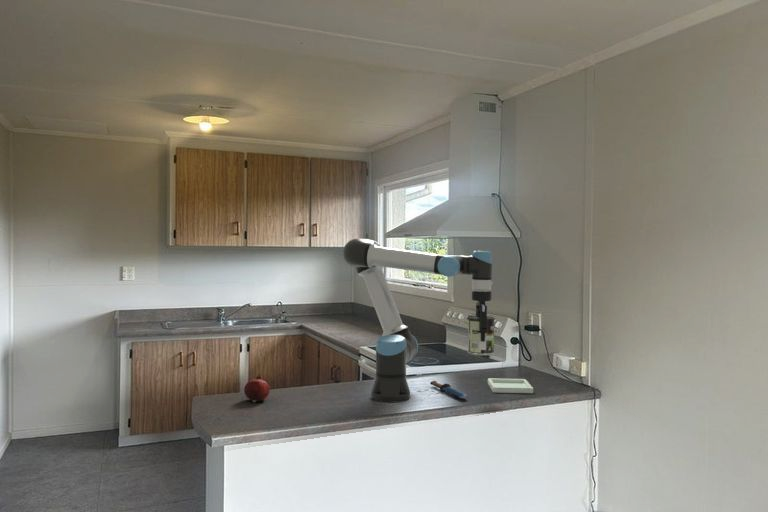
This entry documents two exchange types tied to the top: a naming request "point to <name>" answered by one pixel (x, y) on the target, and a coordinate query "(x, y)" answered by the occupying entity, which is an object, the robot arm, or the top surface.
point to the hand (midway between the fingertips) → (480, 347)
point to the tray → (510, 385)
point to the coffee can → (474, 336)
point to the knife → (448, 389)
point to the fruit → (256, 389)
